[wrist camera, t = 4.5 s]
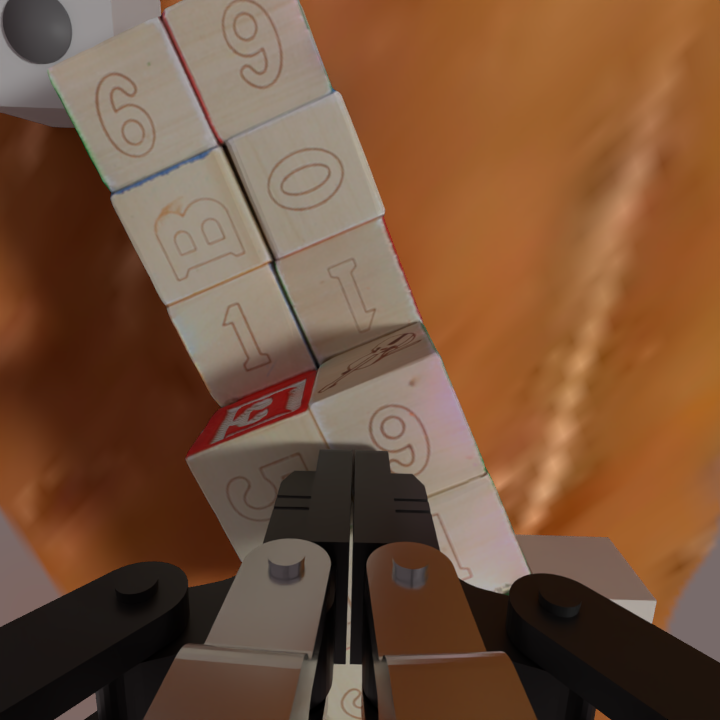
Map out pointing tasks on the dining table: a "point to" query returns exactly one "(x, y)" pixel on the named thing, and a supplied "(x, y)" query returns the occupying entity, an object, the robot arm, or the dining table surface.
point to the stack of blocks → (278, 275)
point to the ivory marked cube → (590, 568)
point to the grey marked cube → (54, 47)
